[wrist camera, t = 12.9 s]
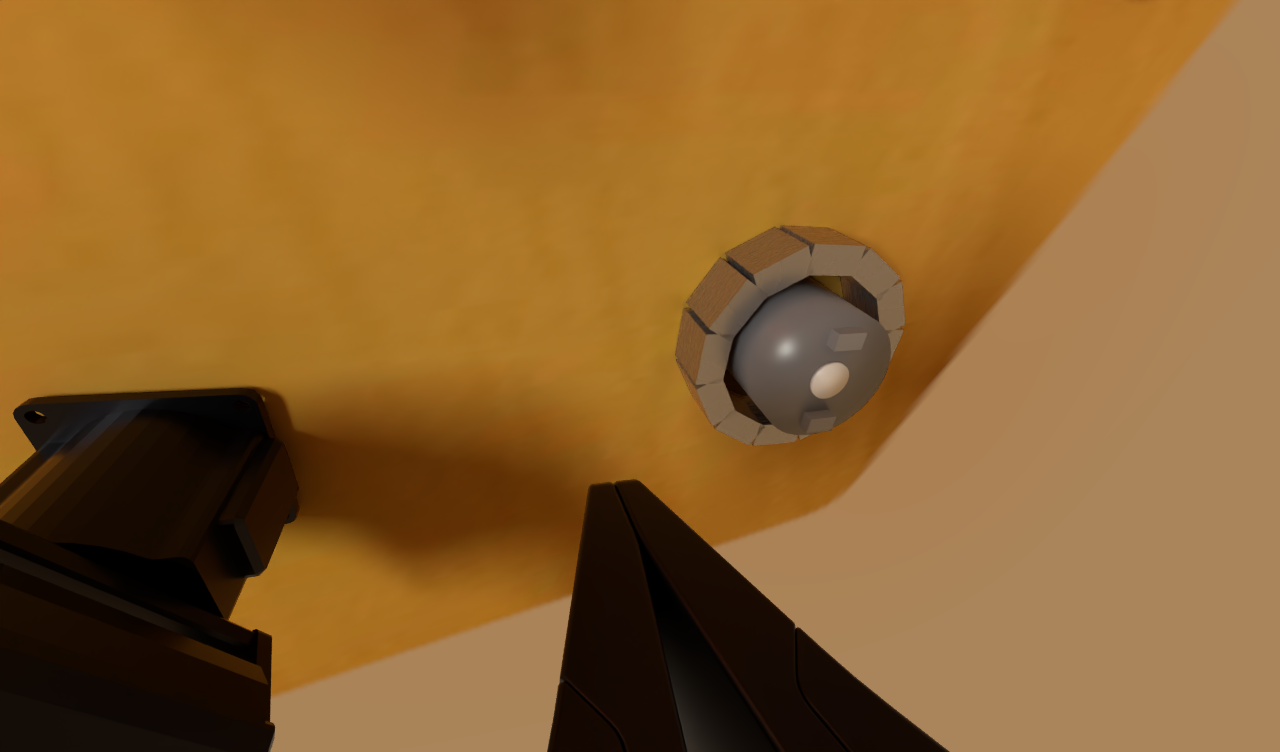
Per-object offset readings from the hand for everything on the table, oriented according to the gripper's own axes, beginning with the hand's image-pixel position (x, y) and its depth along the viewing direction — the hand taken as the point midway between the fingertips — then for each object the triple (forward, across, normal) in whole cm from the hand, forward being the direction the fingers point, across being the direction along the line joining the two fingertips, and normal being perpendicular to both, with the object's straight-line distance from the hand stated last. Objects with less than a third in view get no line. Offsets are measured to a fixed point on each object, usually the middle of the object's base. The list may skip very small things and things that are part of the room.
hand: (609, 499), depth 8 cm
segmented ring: (+12, -11, +3) cm, 17 cm away
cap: (+12, -11, +3) cm, 16 cm away
